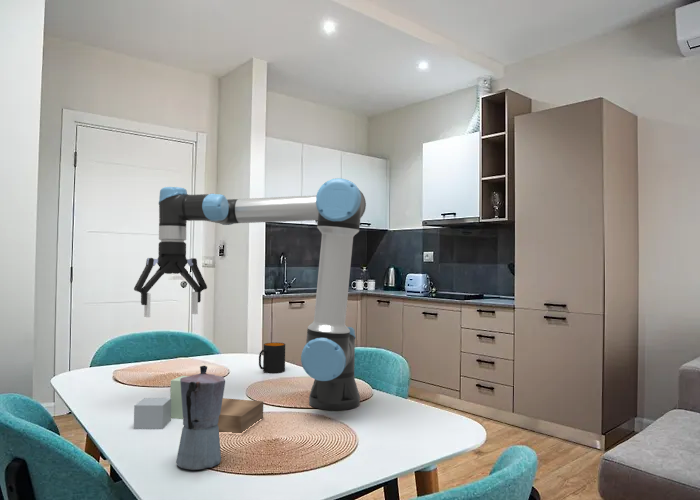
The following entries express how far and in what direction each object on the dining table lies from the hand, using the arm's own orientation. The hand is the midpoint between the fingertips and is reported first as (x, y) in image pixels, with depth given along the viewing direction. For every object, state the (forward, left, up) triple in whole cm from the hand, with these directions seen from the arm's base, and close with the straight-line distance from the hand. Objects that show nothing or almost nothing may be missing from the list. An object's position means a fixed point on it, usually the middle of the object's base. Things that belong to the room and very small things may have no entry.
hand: (171, 315), depth 147 cm
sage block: (-9, +6, -26) cm, 28 cm away
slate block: (-4, +15, -26) cm, 31 cm away
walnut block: (-23, +10, -27) cm, 36 cm away
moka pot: (-29, +35, -26) cm, 52 cm away
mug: (-11, -52, -26) cm, 59 cm away
